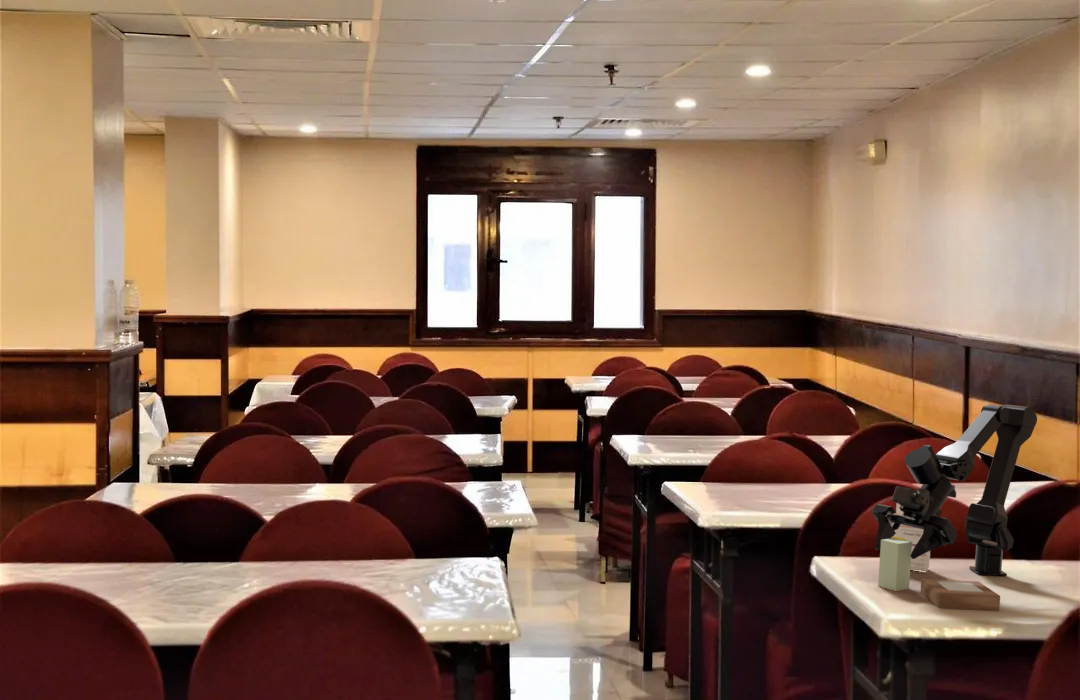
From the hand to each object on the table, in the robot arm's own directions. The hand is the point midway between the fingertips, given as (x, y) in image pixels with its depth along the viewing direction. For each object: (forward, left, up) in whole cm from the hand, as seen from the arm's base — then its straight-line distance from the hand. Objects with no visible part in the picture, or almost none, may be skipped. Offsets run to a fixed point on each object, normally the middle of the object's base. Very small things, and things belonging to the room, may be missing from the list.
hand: (893, 553), depth 256 cm
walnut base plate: (+10, +11, -7) cm, 16 cm away
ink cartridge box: (-20, +10, -8) cm, 23 cm away
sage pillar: (0, +1, -7) cm, 7 cm away
